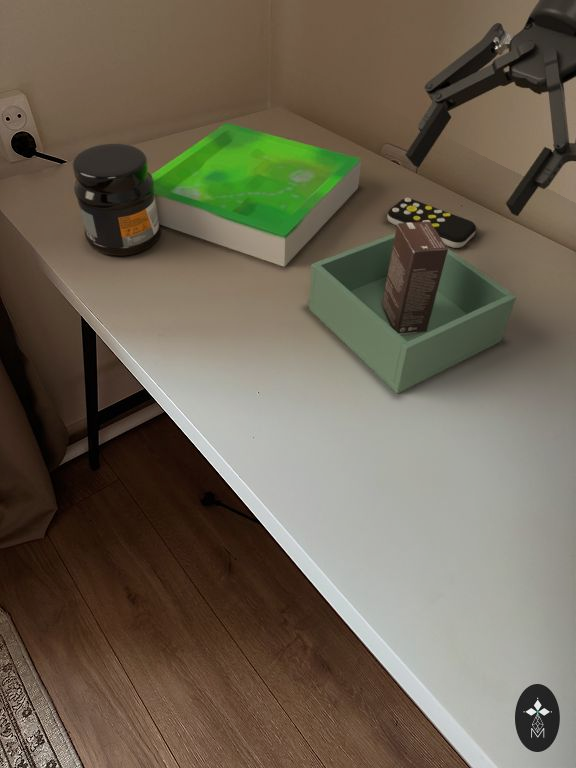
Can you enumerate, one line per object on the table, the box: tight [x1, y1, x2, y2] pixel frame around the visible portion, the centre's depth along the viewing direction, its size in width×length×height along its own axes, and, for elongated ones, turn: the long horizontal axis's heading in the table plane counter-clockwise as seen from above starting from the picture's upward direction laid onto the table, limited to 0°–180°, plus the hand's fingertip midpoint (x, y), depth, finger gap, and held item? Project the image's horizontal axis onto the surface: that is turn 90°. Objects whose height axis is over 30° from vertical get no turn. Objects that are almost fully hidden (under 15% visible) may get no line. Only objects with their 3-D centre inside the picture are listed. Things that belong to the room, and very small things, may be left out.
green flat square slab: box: [150, 122, 362, 268], centre depth 98 cm, size 25×25×5 cm
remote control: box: [386, 197, 477, 249], centre depth 95 cm, size 6×13×2 cm, turn 53°
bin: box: [308, 232, 517, 394], centre depth 77 cm, size 18×17×7 cm
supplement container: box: [72, 143, 161, 256], centre depth 88 cm, size 10×10×12 cm
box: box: [382, 222, 449, 335], centre depth 75 cm, size 6×4×12 cm
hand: (459, 184), depth 69 cm, fingers open, 13 cm apart
